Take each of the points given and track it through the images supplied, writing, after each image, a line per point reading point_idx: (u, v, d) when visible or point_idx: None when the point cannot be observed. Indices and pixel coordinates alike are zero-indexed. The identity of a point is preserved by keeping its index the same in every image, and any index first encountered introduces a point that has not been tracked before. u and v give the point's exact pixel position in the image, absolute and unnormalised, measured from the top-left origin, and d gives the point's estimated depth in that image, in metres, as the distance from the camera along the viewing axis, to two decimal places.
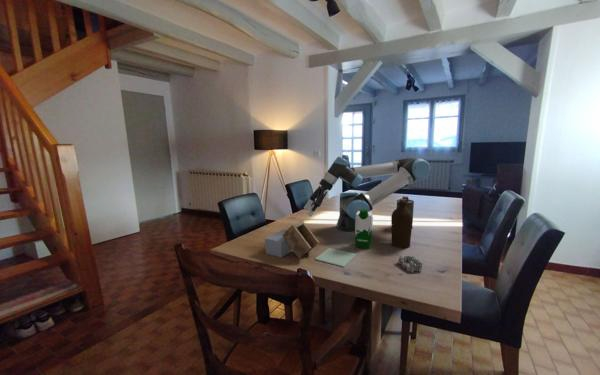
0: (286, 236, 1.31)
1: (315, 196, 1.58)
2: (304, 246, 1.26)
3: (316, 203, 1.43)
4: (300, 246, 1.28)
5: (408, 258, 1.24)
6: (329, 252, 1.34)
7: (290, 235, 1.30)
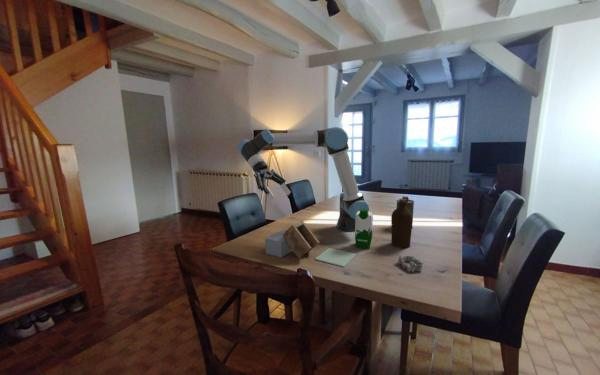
0: (286, 236, 1.31)
1: (276, 180, 1.42)
2: (304, 246, 1.26)
3: (258, 188, 1.30)
4: (300, 246, 1.28)
5: (408, 258, 1.24)
6: (329, 252, 1.34)
7: (290, 235, 1.30)
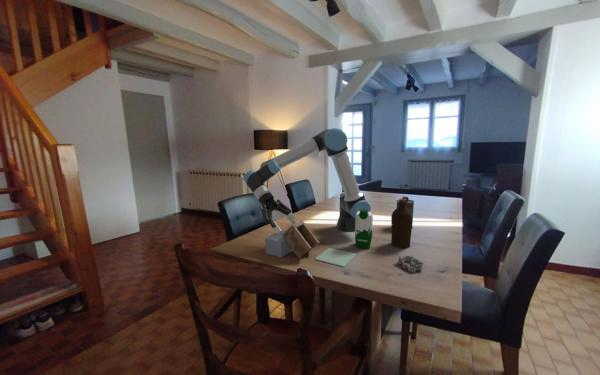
0: (286, 236, 1.31)
1: (282, 210, 1.41)
2: (304, 246, 1.26)
3: None
4: (300, 246, 1.28)
5: (407, 258, 1.24)
6: (329, 252, 1.34)
7: (290, 235, 1.30)
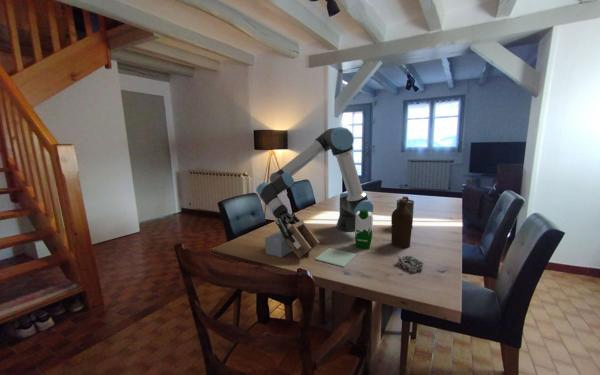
0: None
1: None
2: (304, 246, 1.26)
3: (284, 237, 1.28)
4: (300, 246, 1.28)
5: (406, 258, 1.24)
6: (329, 252, 1.34)
7: None
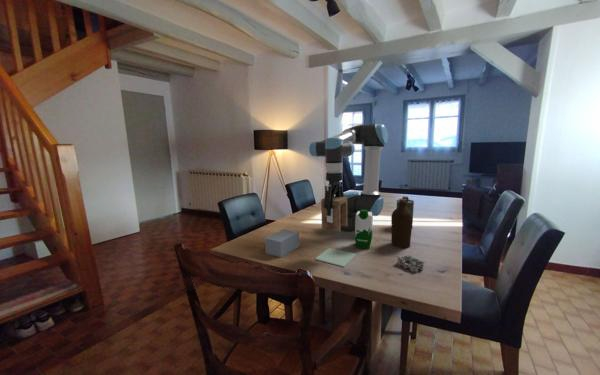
0: None
1: (337, 196, 1.28)
2: (335, 225, 1.22)
3: None
4: None
5: (405, 258, 1.24)
6: (329, 252, 1.34)
7: None
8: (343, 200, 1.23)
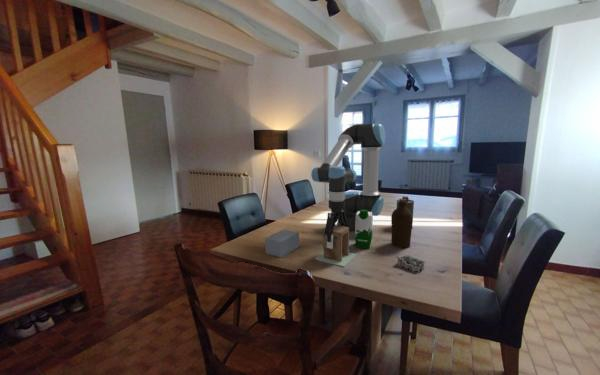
0: None
1: (340, 220, 1.31)
2: (337, 255, 1.24)
3: (324, 232, 1.20)
4: (333, 252, 1.25)
5: (404, 258, 1.24)
6: None
7: None
8: (345, 231, 1.25)
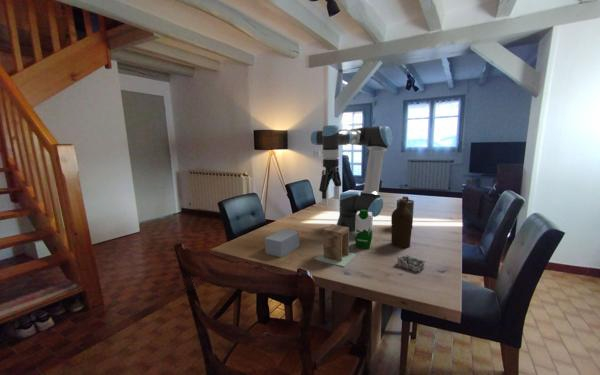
0: (326, 234, 1.25)
1: (334, 180, 1.34)
2: (337, 255, 1.24)
3: (319, 189, 1.23)
4: (333, 252, 1.25)
5: (403, 258, 1.24)
6: None
7: (331, 237, 1.24)
8: (345, 231, 1.25)
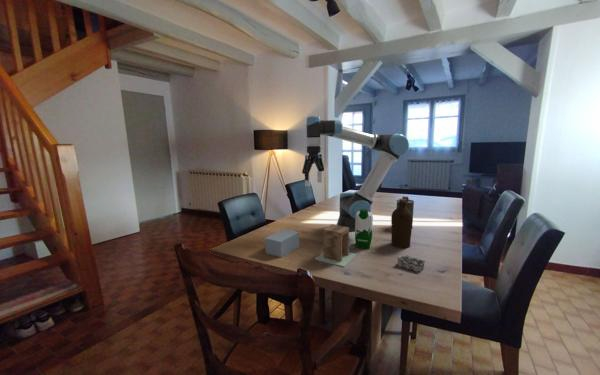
0: (326, 234, 1.25)
1: (317, 165, 1.52)
2: (337, 255, 1.24)
3: (302, 171, 1.41)
4: (333, 252, 1.25)
5: (402, 258, 1.24)
6: None
7: (331, 237, 1.24)
8: (345, 231, 1.25)
